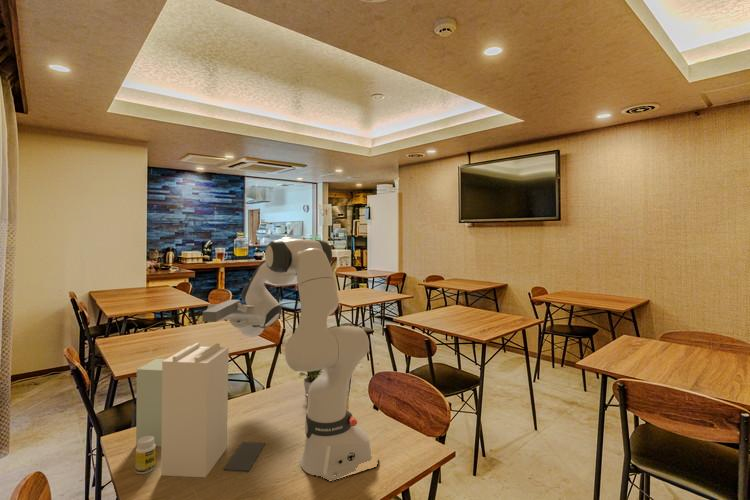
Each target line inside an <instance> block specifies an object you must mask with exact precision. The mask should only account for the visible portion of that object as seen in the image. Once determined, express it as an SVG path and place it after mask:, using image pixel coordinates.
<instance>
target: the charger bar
mask: <svg viewBox="0 0 750 500" xmlns="http://www.w3.org/2000/svg"><path fill="white" fill-rule="evenodd" d="M237 303H241V299H227V300H225V301H223V302H220V303H217V304H218V305H216V306H214V307H212V308H209V309H207V308H206V310H203V311H202V318H201V319H202V322H208V323H211V322H212V323H216V322H218V321H220V320H223V319H222V318H224V317H226V316H228V315H229V314H231V313H233V312H235V311H237V310H238V309H236V304H237Z"/></svg>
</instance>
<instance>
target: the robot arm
mask: <svg viewBox="0 0 750 500" xmlns="http://www.w3.org/2000/svg"><path fill="white" fill-rule="evenodd" d="M264 258H265V259H264V260H263V261H261V262H260V263H259V264H258V266H257V267H256V269H255V270H254V272H253V274H252V276H251V278H250V279H249V281H248V283H247V284H246V285H245V286H244V288H243V289H242V291H241V300H242V301H243V302H244V303H245V304H242V303H241V302H240V303H237V304H236V309H238V310H237V311H235V312H233V313H231V314H229V315H228V316H226V317H224V318H222V319H221V320H229V322H230V324H231V325H232V326H233V327H234V328H235V329H236V330H238V332H240V333H241V334H242V335H244V336H246V337H250V338H255V337H258V336H260V335H261V334H262V333H263V332H264V329H266V328H269V327H271V326H273V325H274V324H275V323H276V322H278V320H279V319H280V317H281V315H282V308H283V307H282V305H281V304H280V303H279V301H278V300H277V299H276V298H275V297H274V296H273V295H272V294H271V292H269V290H268V289H267V287H266V285H265V283H266V281H267V282H269V283H270V284H273V285H277V286H278V285H280V286H281V285H287V284H289V283H290V282H292V281H293V280H294V279H295V276H296V281H297V289H298V295H299V301H300V318H299V322H298V325H297V326H296V327H297V328H296V329H295V331H294V332H293V333H292V335H291V336H290V337H289V338H288V339H287V341H286V343H285V345H284V346H285V347H284V351H283V352H284V353H283V354H284V359H285V362H286V364H287V366H288V367H289V368H290V369H291V370H292V371H294V372H299V373H301V372H302V373H305V372H306V373H307V372H311V371H316V370H321V369H322V370H321V371H322V372H321V373H320V375H318V377H317V378H316V379H315V380H314V381H313V382H312V383H311V385H310V387H309V390H308V396H307V412H306V414H305V420H304V421H305V422H304V423H305V425H304V430H305V431H304V432H305V441H304V448H303V451H302V456H301V459H300V462H299V463H300V466H301V469H302V470H303V471H304V472H305V473H307V474H309V475H311V476H314V475H316V476H315V477H318V476H321V477H320V478H322V477H323V478H322V479H324V478H325V479H327V480H335V479H337V478H340V477H342V476H344V475H347V474H349V473H351V472H354V471H356V469H355V468H357V467H358V465H359V464H361V463H364V462H367V461H370V460H371V459H372V456H371V446H370V444H371V443H370V439H369V436H368V435H367V433H366V432H365V431H364V429H362V428H361V427H359V426H358V420H357V419H356V417H355V416H353V413H352V412H350V411H349V409H348V410H347V409H346V401H347V390H348V385H349V382H350V383H351V378H352V376H353V374H354V371H355V370H356V368H357V367H358V365H359V364H360V362H361V361H362V360H363V359H364V358H365V357H366V356H367V355H368V352H369V349H370V348H369V347H370V340H369V337H368V334H367V332H366V331H365V330H364V329H363V327H361V326H355V325H354V326H353V325H342V326H335V327H328V318H329V317H330V316H331V315H332V314H333V313H335V312H336V310H337V309H338V306H339V303H340V302H339V296H338V291H337V286H336V281H335V278H334V276H335V275H334V273H333V270H332V266H331V264H332V261H333V251H332V248H331V246H330V245H329V243H328V242H327V241H325V240H320V239H315V240H313V239H303V238H302V239H301V238H294V237H290V236H283V237H281V238H280V239H276V240H271V241H270V242H269V243H268V244H267V246H266V248H265V253H264ZM218 304H219V303H216V304H215V303H211V304H208V305H207V308H206V310H207V309H209V308H212V307H214V306H216V305H218ZM349 386H350V385H349ZM334 475H336V476H334ZM325 479H324V480H325ZM327 480H326V481H327Z"/></svg>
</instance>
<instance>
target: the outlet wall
mask: <svg viewBox="0 0 750 500" xmlns="http://www.w3.org/2000/svg"><path fill="white" fill-rule="evenodd" d="M220 345H221V343H215V344H214V345H212V346H201V343H200V342H196V343H194V344H192V345H188V346H187V347H185V348H183V349H181V350H180V351H178V352H176V353H174V354H173V355H171V356H168V357H167V358H165V359H166V360H164V361H162V441H161V449H160V450H161V452H160V453H161V455H160V456H161V458H160V460H161V461H160V465H161V467H160V470H161V471H160V472H161V473H160V476H164V477H165V476H166V477H167V476H169V477H189V478H191V477H193V478H207V477H208V475H209V473H210V472H211V470H212V469H213V468H214V466H215V465H216V464H217V462H218V461H219V459H220V458H221V457H222V456H223V454H224V453H225V451H226V450H227V449H228V414H229V412H228V408H229V407H228V405H229V404H228V403H229V402H228V400H229V399H228V397H229V355H230V353H229V352H230V351H229V350H230V349H229V347H227V346H226V347H223V346H220Z"/></svg>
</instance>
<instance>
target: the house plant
mask: <svg viewBox="0 0 750 500" xmlns="http://www.w3.org/2000/svg"><path fill="white" fill-rule="evenodd" d="M322 371H323V369H321V370H316V371H311V372H306V373H307V374H306V373H305V372H299V374H298V376H299V377H303V376H305V378H304V379H303V384H304V391H305V395H306V394H308V390H309V387H310V385H311V383H312V382H313V381H314V380H315V379H316V378H317V377H318V376H319V375H320V374H321V373H322Z"/></svg>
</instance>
